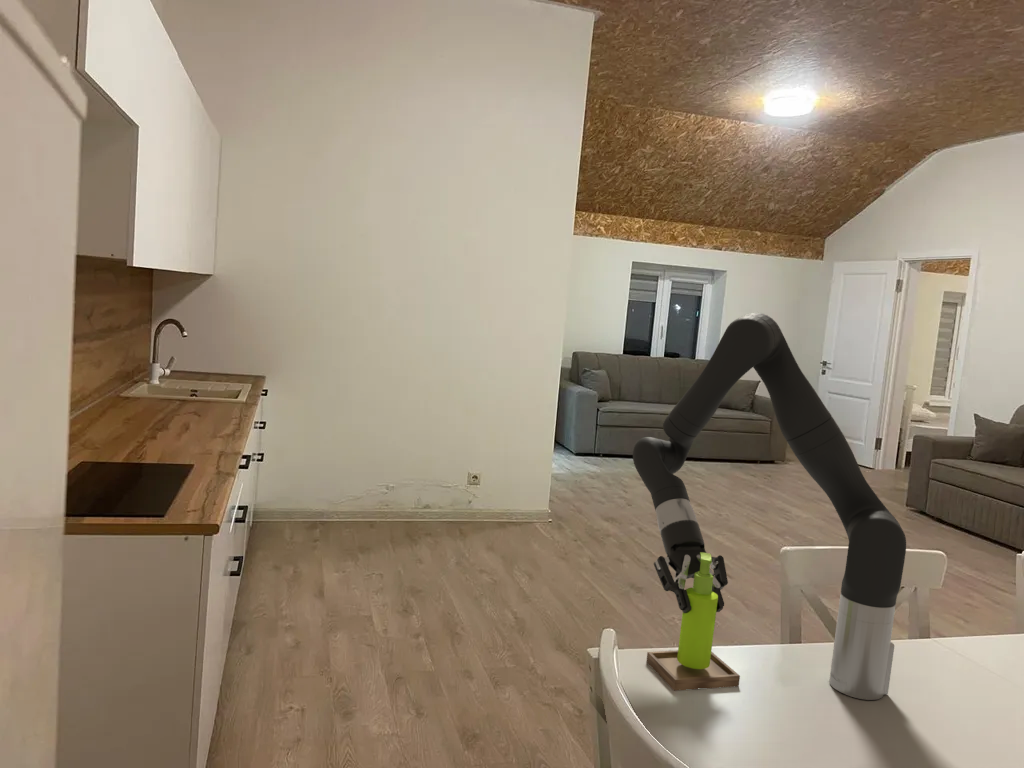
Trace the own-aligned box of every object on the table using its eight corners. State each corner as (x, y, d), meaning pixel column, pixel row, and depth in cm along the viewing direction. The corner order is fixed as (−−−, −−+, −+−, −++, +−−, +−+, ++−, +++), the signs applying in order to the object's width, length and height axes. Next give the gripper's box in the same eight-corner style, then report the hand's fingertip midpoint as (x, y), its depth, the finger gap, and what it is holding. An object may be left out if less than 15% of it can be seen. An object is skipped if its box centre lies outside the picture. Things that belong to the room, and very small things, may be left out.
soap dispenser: (708, 655, 148) (721, 552, 146) (710, 671, 141) (723, 564, 139) (676, 649, 149) (689, 547, 147) (677, 665, 142) (690, 559, 140)
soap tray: (707, 658, 152) (708, 648, 152) (738, 686, 142) (739, 675, 142) (646, 662, 149) (647, 651, 148) (674, 690, 138) (675, 679, 138)
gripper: (653, 518, 148) (676, 604, 137) (720, 518, 152) (748, 601, 142) (637, 536, 153) (659, 620, 143) (703, 536, 157) (728, 617, 147)
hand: (703, 610), depth 142 cm, fingers closed on soap dispenser, 6 cm apart
